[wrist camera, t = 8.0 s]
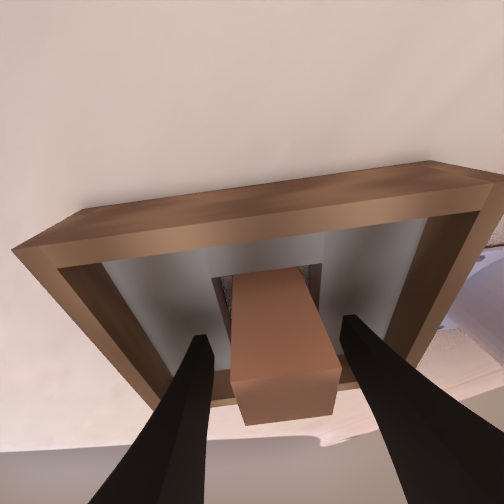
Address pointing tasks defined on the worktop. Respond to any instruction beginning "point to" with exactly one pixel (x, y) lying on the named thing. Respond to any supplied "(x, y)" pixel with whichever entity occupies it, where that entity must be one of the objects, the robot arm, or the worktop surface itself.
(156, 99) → the worktop surface
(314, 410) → the terracotta peg
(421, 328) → the box
